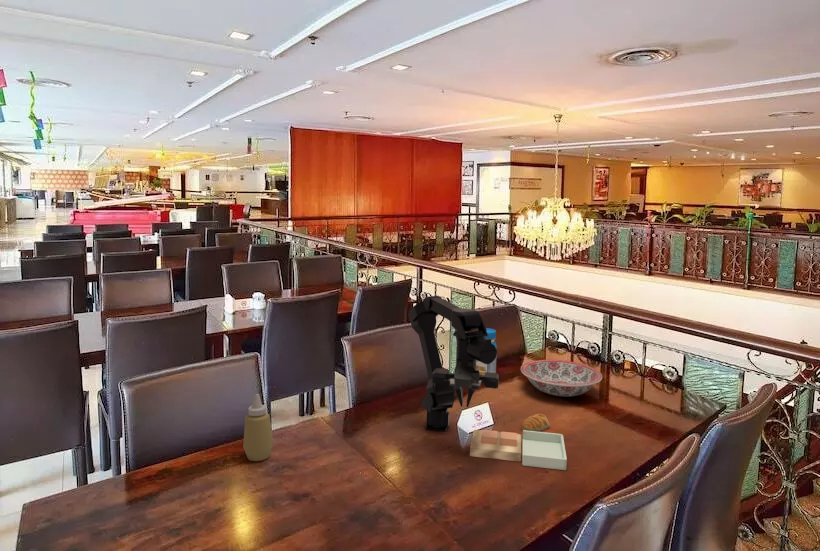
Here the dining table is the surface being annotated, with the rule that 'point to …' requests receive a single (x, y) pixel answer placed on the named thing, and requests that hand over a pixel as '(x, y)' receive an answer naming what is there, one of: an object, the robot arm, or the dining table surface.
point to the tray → (544, 450)
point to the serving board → (494, 448)
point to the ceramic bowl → (561, 376)
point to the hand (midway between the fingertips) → (464, 406)
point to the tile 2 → (508, 438)
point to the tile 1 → (489, 436)
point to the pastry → (535, 423)
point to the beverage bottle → (492, 366)
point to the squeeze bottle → (257, 432)
